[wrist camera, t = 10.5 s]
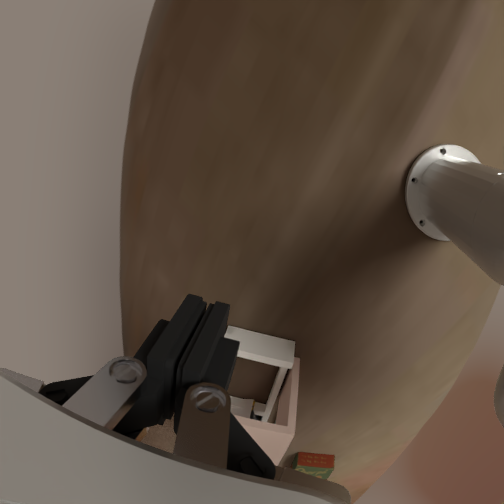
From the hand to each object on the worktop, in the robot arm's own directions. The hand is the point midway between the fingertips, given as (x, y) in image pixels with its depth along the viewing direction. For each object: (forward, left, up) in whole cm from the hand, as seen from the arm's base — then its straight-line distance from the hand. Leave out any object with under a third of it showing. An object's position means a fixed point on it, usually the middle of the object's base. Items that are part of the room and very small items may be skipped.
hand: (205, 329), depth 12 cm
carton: (-22, +58, -30) cm, 69 cm away
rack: (-3, +34, -29) cm, 45 cm away
